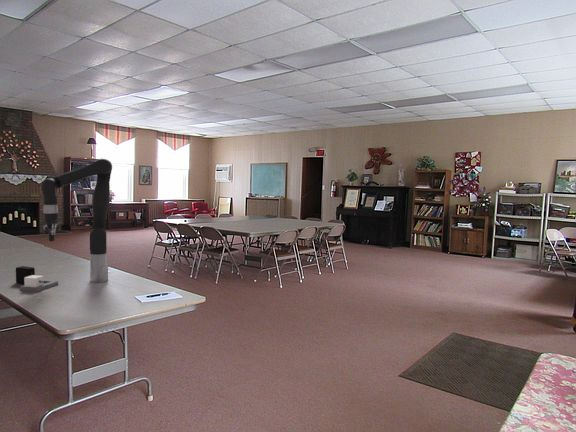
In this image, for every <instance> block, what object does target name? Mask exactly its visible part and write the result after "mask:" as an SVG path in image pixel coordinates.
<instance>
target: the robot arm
mask: <svg viewBox="0 0 576 432" xmlns="http://www.w3.org/2000/svg"><path fill="white" fill-rule="evenodd" d="M112 170H113V164H112V162H111V161H110V160H108V159H106V158H98V159H97V160H95V161H93V162H92V163H90V164H88V165H85V166H83V167H80V168H77V169H73V170H70V171H67V172H64V173H62V174H59V175H57V176H53V177H51V178H45V179H43V181H42V182H41V191H42V196H43V211H42V212H43V220H44V221H45V223H44V225H43V226H42V227H41V229H42V230H43V231H44V233H45V235H48V240H49V242H55V239H56V238H55V235H56V234H58V232H59V229H60V227H61V224H58V220H59V207H58V197H57V195H56V190H57V189H60V188H63V187H64V186H69V185H71V184H74V183H77V182H79V181H82V180H84V179H86V178H89V177H92V176H96V183H95V186H94V191H93V194H92V227H91V231H90V233H89V279H90V280H89V281H90V282H92V283H104V282H107V281H109V265H108V264H107V262H108V261H107V257H108V256H107V249H108V248H107V216H108V213H109V205H110V194H111V193H110V191H111V190H110V182H111V175H112Z"/></svg>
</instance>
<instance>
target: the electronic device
mask: <svg viewBox="0 0 576 432" xmlns="http://www.w3.org/2000/svg"><path fill="white" fill-rule="evenodd" d="M35 270H36V269H35V267H32V266H26V265H23V266H17V267H15V284H19V285H24V277H28V276H31V275H36V271H35Z"/></svg>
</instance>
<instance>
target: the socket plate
mask: <svg viewBox="0 0 576 432" xmlns="http://www.w3.org/2000/svg"><path fill="white" fill-rule="evenodd" d="M58 285H59V281H58V280H48V279H44V285H41V286H38V287H26V286H24V284H22V285H21V286H19V291H24V292H25V291H27V292H36V293H37V292H40V291H45V290H47V289H49V288H53V287H55V286H58Z"/></svg>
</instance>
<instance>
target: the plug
mask: <svg viewBox="0 0 576 432" xmlns="http://www.w3.org/2000/svg"><path fill="white" fill-rule="evenodd" d="M44 280H45V277H44V275H36V274H35V275H31V276H28V277H24V284H23V285H24V286H26V287H38V286H41V285H44Z"/></svg>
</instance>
